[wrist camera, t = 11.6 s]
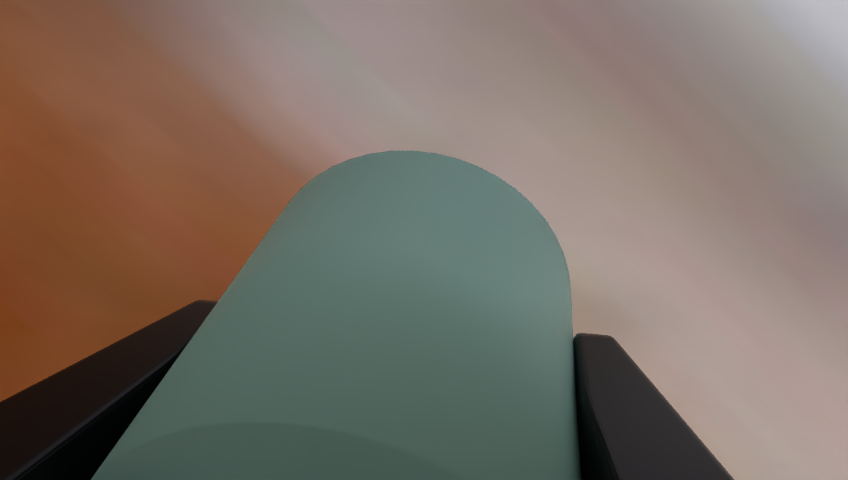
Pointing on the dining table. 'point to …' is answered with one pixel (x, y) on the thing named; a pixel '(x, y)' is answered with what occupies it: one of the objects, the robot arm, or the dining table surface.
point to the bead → (378, 342)
